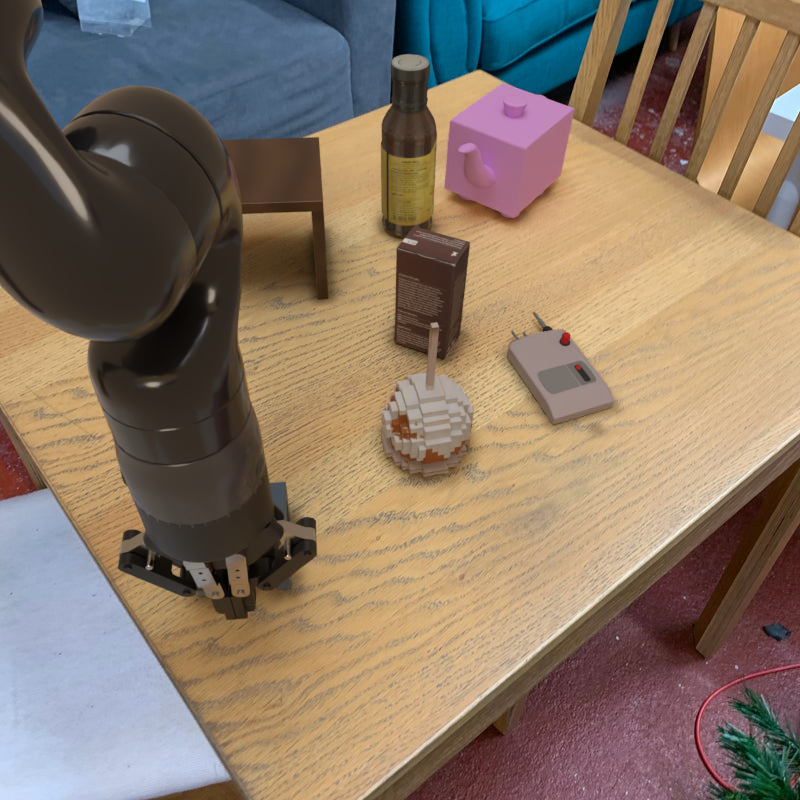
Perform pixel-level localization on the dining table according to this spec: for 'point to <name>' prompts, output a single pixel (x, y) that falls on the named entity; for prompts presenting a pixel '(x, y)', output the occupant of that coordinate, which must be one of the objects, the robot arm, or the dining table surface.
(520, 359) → the remote control
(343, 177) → the dining table surface
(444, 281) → the box
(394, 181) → the sauce bottle
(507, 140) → the teapot
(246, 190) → the desk
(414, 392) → the candy apple
